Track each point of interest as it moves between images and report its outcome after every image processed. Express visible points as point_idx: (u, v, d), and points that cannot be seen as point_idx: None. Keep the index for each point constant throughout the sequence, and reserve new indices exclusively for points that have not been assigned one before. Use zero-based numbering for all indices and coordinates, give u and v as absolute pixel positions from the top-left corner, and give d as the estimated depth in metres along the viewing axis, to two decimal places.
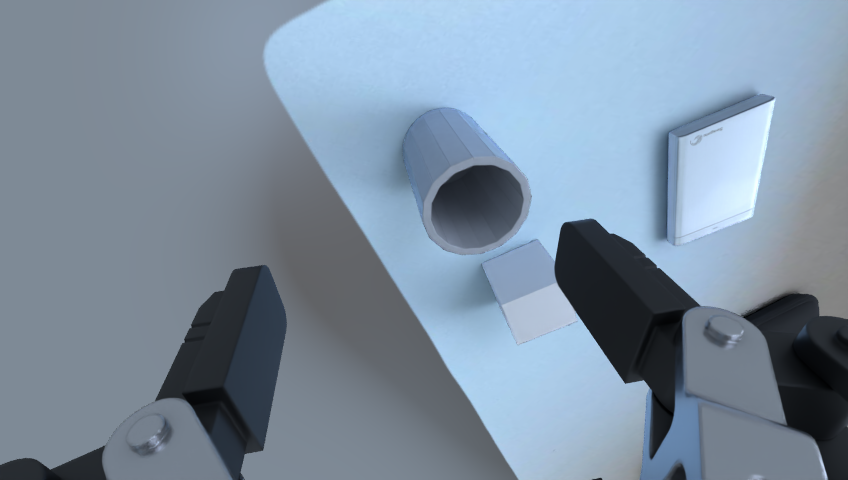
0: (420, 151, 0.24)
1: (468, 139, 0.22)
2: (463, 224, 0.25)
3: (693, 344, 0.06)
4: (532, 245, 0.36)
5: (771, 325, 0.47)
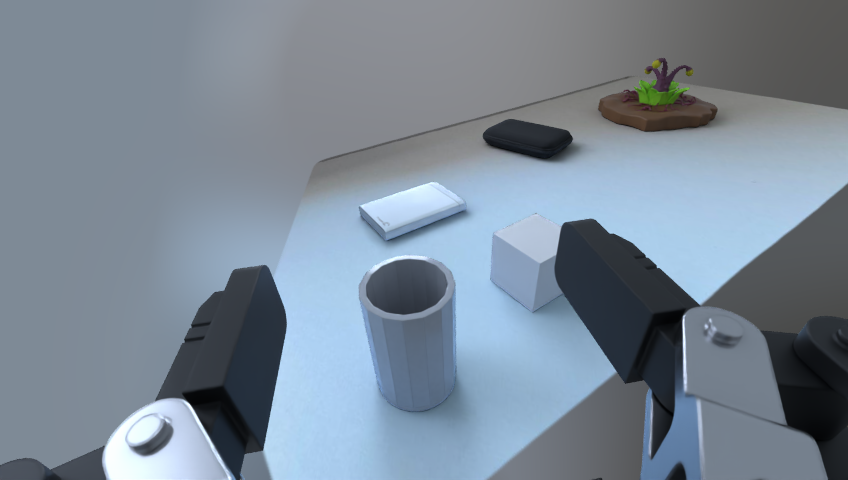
0: (391, 366, 0.26)
1: None
2: None
3: (693, 344, 0.06)
4: (495, 279, 0.39)
5: (509, 137, 0.66)
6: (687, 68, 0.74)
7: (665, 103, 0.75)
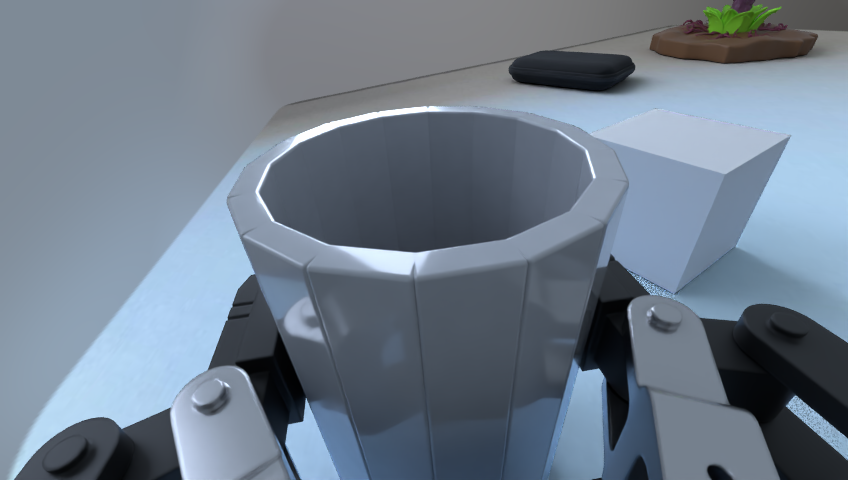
0: (369, 466, 0.07)
1: None
2: None
3: (639, 334, 0.07)
4: None
5: (548, 65, 0.48)
6: None
7: (746, 30, 0.57)
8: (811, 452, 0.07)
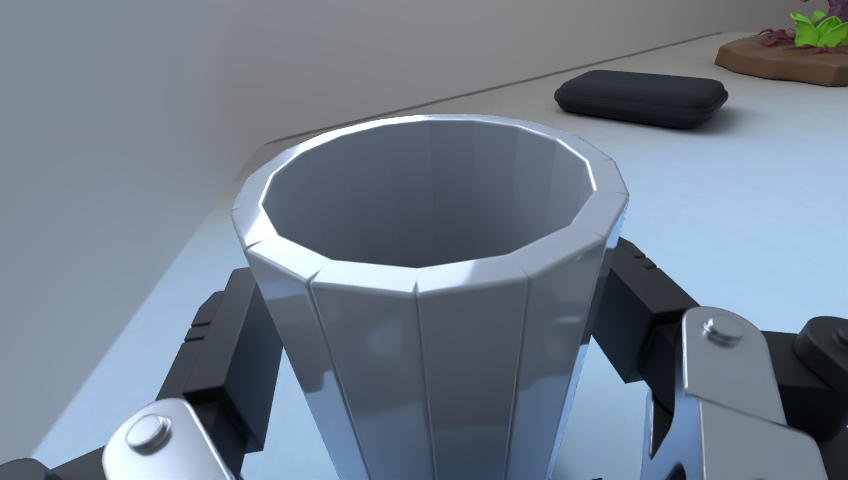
0: (372, 475, 0.07)
1: None
2: None
3: (693, 344, 0.06)
4: None
5: (613, 92, 0.36)
6: None
7: None
8: None
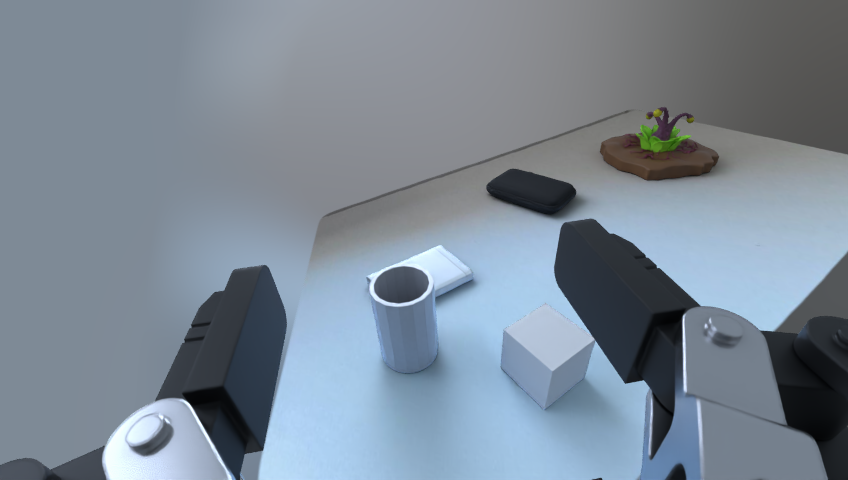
0: (391, 339, 0.38)
1: None
2: None
3: (693, 344, 0.06)
4: (506, 369, 0.39)
5: (513, 191, 0.67)
6: (688, 116, 0.75)
7: (667, 150, 0.76)
8: None
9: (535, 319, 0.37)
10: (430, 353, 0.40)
